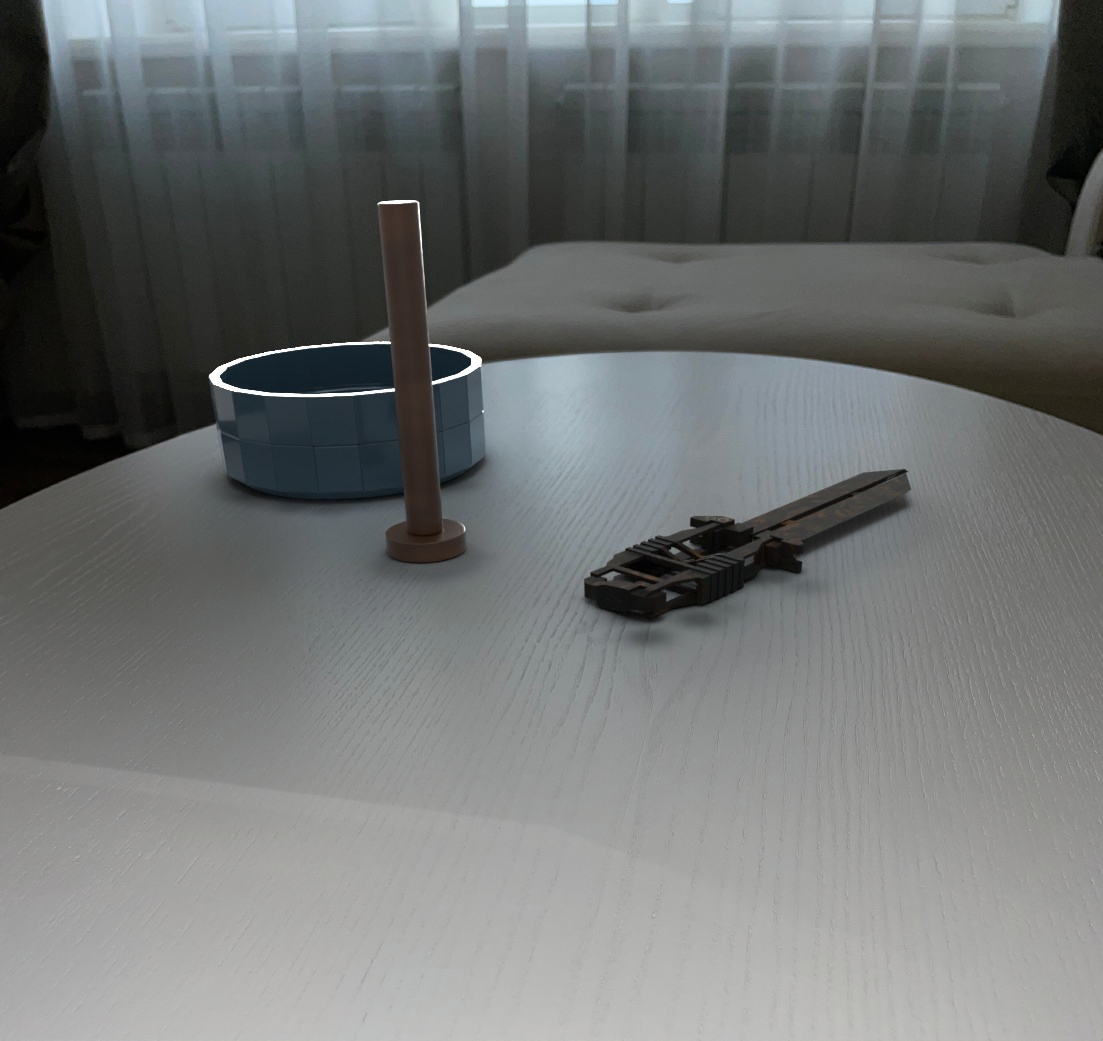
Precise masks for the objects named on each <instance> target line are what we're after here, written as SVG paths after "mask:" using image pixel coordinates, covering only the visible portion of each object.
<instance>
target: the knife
mask: <svg viewBox="0 0 1103 1041" xmlns="http://www.w3.org/2000/svg"><path fill="white" fill-rule="evenodd" d="M908 473H909V471H908V470H907V469H906V468H899V469H888V470H887V469H886V470H875V471H866V472H865V471H864V472H861V473H858V474H856V475H854V476H852V477H849V478H847V479H844V480H842V481H839V482H836V483H835V484H832V485H829V486H827V487H825V488H822V489H820V490H818V491H815V492H813V493H811V494H808V495H806V496H803V497H801V498H798V499H796V500H794V501H790V502H788V503H786V504H784V505H782V506H778V507H776V508H774V509H772V510H770V511H766V512H764V513H762V514H760V515H757V516H754V517H753V518H750V519H748V520H745V521H743V522H736V519H735V518H732V517H727V516H723V515H693V516H690V518H689V527H691V528H689V529H682V530H680V531H677V532H675V533H673V534H670V535H665V536H662V535H659V534H658V535H655V536H654V538H653V537H650V538H648V539H647V541H646V540H643V541H641V542H640V543H635V544H633V545H632V547H631V546H628V547H625V549H624V550H623V551H620V552H618V553H615V554H613V556H612V558H611V559H610V560H608V561H607V562H606V565H604V566H602V567H600V568H597V569H595V570H592V571H590V573H589V574H590V576H588V577H585V578H583V595H584V596H583V597H584V598H585V599H589V600H592V601H594V602H595V603H596V606H597V607H600V608H601V609H606V610H607V609H608V610H611V611H616V612H620V613H624V612H629V611H637V612H640V613H642V616H643V617H646V618H649V619H651V618H653V617H656V616H658V615H660V614H662V613H664V612H667V611H668V610H671V609H675V608H680V607H685V606H689V605H694V604H695V605H696V604H697V605H701V606H702V605H705V604H706V603H713V602H716V599H717V600H719V599H722V598H723V596H728V595H730V592H731V593H734V592H736V591H737V589H742V588H744V585H745V584H744V583H745V581H747V580H749V579H752V578H754V577H756V576H757V574H758V572H759V570H760V569H761V568H763V567H765V566H766V565H768V564H770V565H774V566H775V565H778V569H779V568H780V569H783V570H787V571H791V572H795V573H800V572H802V571H803V561H802V560H799V559H797V558H796V557H795V555H797V556H800V555H803V554H804V548H805V547H804V546H805V543H804V542H803V541H805V540H806V539H808V538H811V537H813V536H815V535H817V534H820V533H821V532H824V531H826V530H828V529H830V528H833V527H834V526H838V525H840V524H841V523H844V522H846V521H848V520H851V519H853V518H855V517H857V516H859V515H861V514H864V513H866V512H868V511H870V510H872V509H874V508H876V507H878V506H881V505H883V504H886V503H888V502H890V501H892V500H895V499H896V498H898V497H901V496H903V495H904V494H907V493H908V492H910V491H912V487H911V484H910V482H909V481H910V480H909V478H908ZM688 541H689V544H693V545H695V546H700V547H698V548H691V547H690V546H688V545H687V544H685V543H686V542H688ZM729 547H730V548H735V549H732V550H730V551H727V552H725V553H724V552H719V553H715V554H710V555H706V554H708V553H711V552H713V551H716V550H718V549H721V550H725V549H727V548H729ZM672 548H673V549H676V550H678V551H679V552H677V553H672ZM705 555H706V556H705ZM752 557H753V562H751V563H748V564H746V560H747V559H749V558H752ZM676 571H680V573H677V574H675V575H672V576H670V577H667V578H666V579H665V578H662V577H659V576H662V575H664V574H665V573H671V572H676ZM612 572H613V573H617V574H616V575H614V576H613V578H612V579H611V580H608V578H607V577H604V576H605V575H607V574H610V573H612ZM687 583H696V586H695V588H694V587H692V586H688V585H684V584H687ZM666 589H667V590H670V591H673V592H676V593H680V594H679V595H678V596H675V597H674V598H671V599H669V600H667V599H668V598H667V594H668V592H666V591H663V590H666Z"/></svg>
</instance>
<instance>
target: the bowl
mask: <svg viewBox="0 0 1103 1041" xmlns="http://www.w3.org/2000/svg"><path fill="white" fill-rule="evenodd" d="M429 346H430V359H431V372H432V386H433V399H434V412H435V425H436V439H437V452H438V465H439V478H440V484H443V483H446V482H448V481H451V480H453V479H456V478H457V477H460V476H461V475H463V474H465V473H466V472H467V471H468V470H469V469H471V468H472V467H473V466H475V465H476V464H477V463H478V462H479V461H481V460H482V459H483V458H484V457H485V456H486V454H487V436H486V435H487V434H486V418H485V402H484V400H485V398H484V382H483V381H484V380H483V365H482V364H483V362H482V358H481V357H480V356H478V355H476V354H475V353H473V352H472V351H470V350H465V349H461V348H457V347H453V346H448V345H441V344H432V343H429ZM208 383H209V389H210V390H209V391H210V395H211V401H212V406H213V415H214V420H215V426H216V431H217V437H218V445H219V449H220V450H219V451H220V456H221V461H222V462H221V463H222V465H223V468H224V470H225V473H226V475H227V477H229V478H232V479H233V480H236V481H238V482H240V483H242V484H243V485H245V486H247V487H248V488H250V489H252V490H255V491H257V492H260V493H264V494H268V495H274V496H277V497H285V498H291V499H301V500H355V499H368V498H369V499H370V498H378V497H384V496H385V497H386V496H392V495H398V494H404V489H403V478H402V467H401V456H400V445H399V434H398V423H397V412H396V401H395V390H394V379H393V368H392V357H391V346H390V341H373V342H372V341H370V342H345V343H344V342H343V343H332V344H331V343H330V344H321V345H309V346H308V345H307V346H299V347H295V348H294V347H293V348H287V349H281V350H280V349H279V350H275V351H267V352H264V353H259V354H255V355H251V356H246V357H242V358H237V359H236V360H233V361H231V362H228V363H226V364H223V365H221V366H218V367H216V368H215V370H213V371H212V372H211V373H210V374H209V375H208Z"/></svg>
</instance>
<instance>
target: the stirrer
mask: <svg viewBox="0 0 1103 1041" xmlns="http://www.w3.org/2000/svg"><path fill="white" fill-rule="evenodd" d="M377 213H378V223H379V235H380V248H381V256H382V268H383V280H384V288H385V300H386V312H387V322H388V333H389V334H388V335H389V342H390V346H391V357H392V368H393V379H394V390H395V401H396V412H397V423H398V434H399V445H400V456H401V467H402V478H403V489H404V493H403V497H404V509H405V520H404V521H402V522H398V523H396V524H393V525H391V526H390V527H389V528H387V530H385V541H386V542H385V543H386V553H387V554H388V556H389V557H391V558H392V559H395V560H397V561H402V562H406V563H415V564H416V563H419V564H421V563H422V564H423V563H435V562H442V561H446V560H449V559H452V558H455V557H458V556H460V555H462V554H463V553H464V552H465V551H466V549H467V535H466V534H467V532H466V528H465V525H464V524H462V523H461V522H459V521H456V520H454V519H453V520H452V519H448V518H443V506H442V492H441V483H440V478H439V465H438V452H437V439H436V425H435V412H434V399H433V386H432V372H431V359H430V346H429V344H430V335H429V334H430V332H429V321H428V308H427V307H428V306H427V296H426V295H427V294H426V282H425V279H426V278H425V271H424V270H425V268H424V252H423V240H422V228H421V214H420V202H419V201H417V200H410V199H409V200H406V199H405V200H388V201H380V202H378V203H377Z"/></svg>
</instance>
